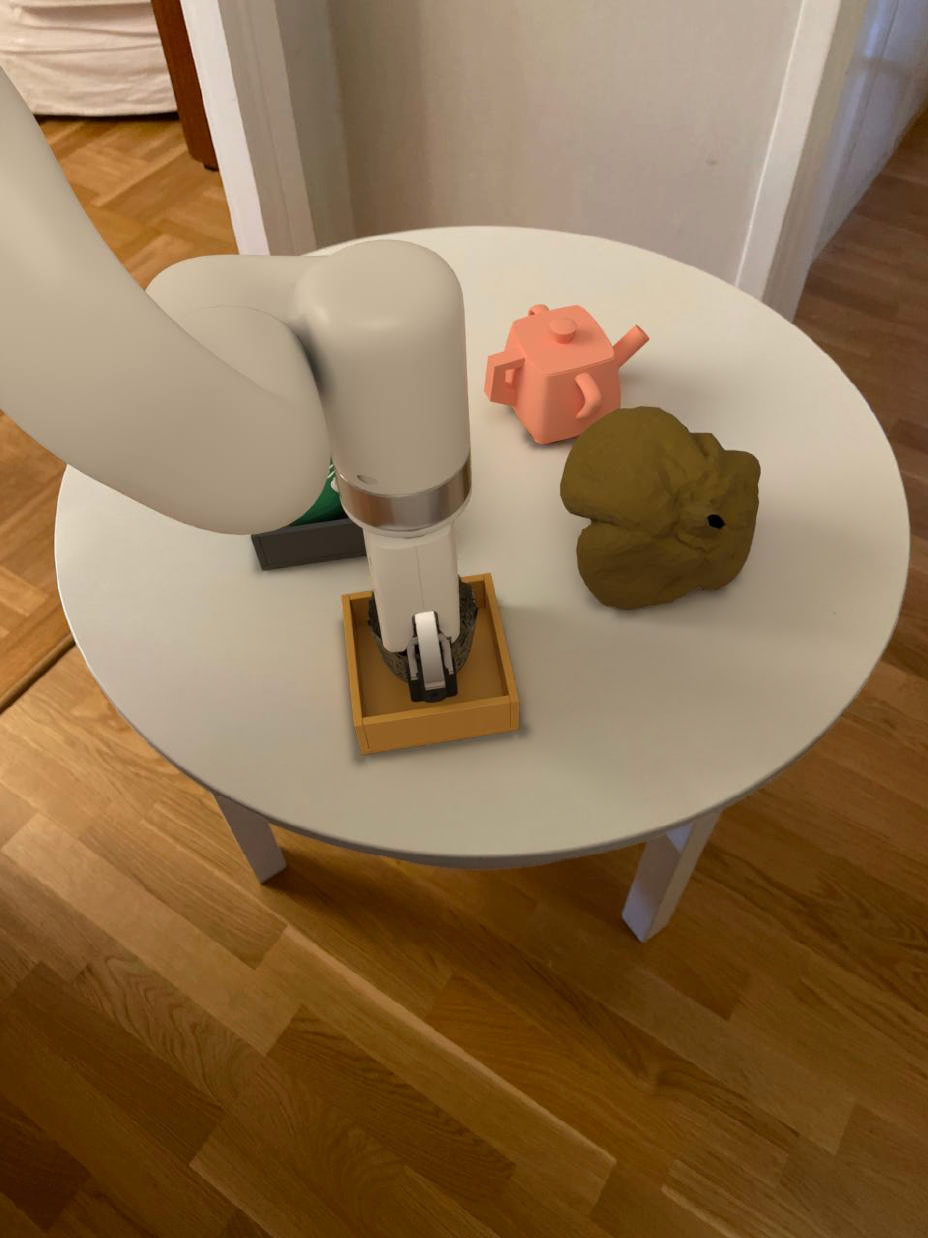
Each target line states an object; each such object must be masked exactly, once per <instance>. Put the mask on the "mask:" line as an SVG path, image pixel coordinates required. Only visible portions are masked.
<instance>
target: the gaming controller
mask: <svg viewBox="0 0 928 1238" xmlns="http://www.w3.org/2000/svg"><path fill="white" fill-rule="evenodd" d="M343 512H345V510H344V508H343V506H342V503H341V500H340V495H339V491H338V486H337V481H336V476H335V472H334V467H333V462H332V457H331V459H330V467H329V474H328V478H327V480H326V483H325V486H324V488H323V490H322V493H321V494H320V496H319V497H318V499H317V500H316V502H315V503H314V505H313V506H312V507H311V508H310V509H309V510H308V511H307V512H306V513H305V514H304V515H303V516H301V517H300V518H298V519H297V520H295V521H293V522H292V523H290V527H292V526H299V525H306V524H313V523H320V522H326V521H328V520H331V519H333V518H336V517H337V516H339V515H341V514H342V513H343Z"/></svg>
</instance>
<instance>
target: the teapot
mask: <svg viewBox="0 0 928 1238" xmlns="http://www.w3.org/2000/svg"><path fill="white" fill-rule="evenodd" d="M650 340H651V338H650V337H649V335H648V334H647V333H646V331H645V330H643V329H642V328H641V327H640V326H639V325H638V324H635V325H633V326H632V327H631V329H629V330H628V331H627V332H626V333H625V334H624V335H623V336H622V337H621V338H620V339H619V340H617V342H616V343H614V344H613V345H612V343H611V341H610V339H609V337H608V336H607V334H606V333H605V330H604V329H603V328H602V327H601V325H600V324H599V323H598V321H597V320H596V319H595V318H594V317H593V316H592V314H591V313H590V312H589V311H588V310H586V308H584V307H582V306H581V305H578V304H574V305H567V306H563V307H559V308H554V309H550V308H549V307H548V306H547V305H546V304H544V303H543V304H541V303H538V304H535V305H532V306H531V307H530V308H529V310H528V312H527V316H524V317H521V318H518V319H516V320H513V322H512V324H511V326H510V329H509V332H508V336H507V339H506V342H505V346H504V350H503V351H500V352H497V353H493V354H490V355H488V356H487V362H486V370H485V378H484V388H483V392H484V393H485V396H486V397H487V399H488V400H489V402H491V403H496V404H500V405H504V406H510V407H512V410H513V411H514V413H515V415H516V417H517V418H518V420H519V421H520V423H521V424H522V425H523V426H524V428H525V429H526V430H527V432H528V433H529V434H530V435H531V436H532V437H533V441H535V443H537V444H539V445H549V444H552V443H554V442H559V441H563V440H568V439H571V438H575V437H579V436H580V435H581V434H582V433H583V432H584V431H585V430H586V429H587V428H588V427H589V426H590V425H592V424H593V423H595V422H596V421H598V420H599V419H601V418H602V417H604V416H605V415H607V414H608V413H610V412H612V411H614V410H616V409H618V408H621V405H622V404H621V403H622V401H621V400H622V399H621V398H622V389H621V379H620V371H619V370H620V369H621V368H622V367H623V366H624V365H625V364H626V363H627V362H628V361H629V360H630V359H631V358H632V357H633V356H634V355H635V354H637V352H638V351H639V350H640V349H642V348H643V347H644V346H645V345H646V344H647V343H648V342H649V341H650Z"/></svg>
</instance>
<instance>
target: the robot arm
mask: <svg viewBox="0 0 928 1238" xmlns="http://www.w3.org/2000/svg"><path fill="white" fill-rule="evenodd" d="M55 155H56V154H54V152H53V150H52V148H51V146H50V144H49V142H48V140H47V138H46V135H45V134H44V132H43V131H42V128H41V127H40V125H39V122H38V121H37V119H36V118H35V115H34V114H33V112H32V111H31V109H30V107H29V105H28V104H27V102H26V101H25V99H24V98H23V96H22V95H21V93H20V91H19V90H18V88H17V87H16V85H15V84H14V83H13V81H12V79H11V78H10V77H9V75H8V74H7V73H6V71H5V70H4V69H3V67H2V66H1V65H0V410H1V411H2V412H3V413H4V414H5V415H6V416H7V417H8V418H9V419H10V420H11V421H13V422H14V424H15V425H17V426H18V427H19V428H20V429H21V430H22V431H23V432H24V433H26V434H27V435H28V436H29V437H31V438H32V439H33V440H34V441H36V443H38V444H39V445H40V446H42V447H43V448H44V449H46V450H47V451H48V452H50V453H51V454H53V455H54V456H56V457H57V458H58V459H59V460H61V461H63V462H64V463H65V464H67V465H68V466H70V467H72V468H74V469H75V470H77V471H78V472H80V473H82V474H84V475H85V476H87V477H88V478H90V479H92V480H94V481H96V482H98V483H100V484H102V485H104V486H106V487H108V488H110V489H112V490H114V491H116V492H118V493H120V494H121V495H123V496H125V497H127V498H129V499H130V500H133V501H135V502H137V503H138V504H141V505H143V506H145V507H146V508H148V509H151V510H153V511H154V512H157V513H158V514H161V515H163V516H165V517H167V518H170V519H172V520H175V521H177V522H179V523H182V524H184V525H186V526H187V525H188V526H192V527H194V528H197V529H200V530H203V531H208V532H213V533H216V534H217V533H218V534H223V535H233V536H251V535H252V534H260V533H265V532H269V531H274V530H277V529H279V528H282V527H284V526H287V525H289V524H290V523H292V522H293V521H295V520H297V519H298V518H300V517H301V516H303V515H304V514H305V513H306V512H307V511H308V510H309V509H310V508H311V507H312V506H313V505H314V503H315V502H316V500H317V499H318V497H319V496H320V494H321V493H322V490H323V488H324V486H325V483H326V480H327V478H328V474H329V467H330V459H331V457H332V462H333V467H334V472H335V476H336V481H337V486H338V491H339V495H340V500H341V503H342V506H343V508H344V510H345V512H346V514H347V515H348V516H349V518H350V519H351V520H352V521H353V522H355V523H356V524H357V525H358V526H360V527H362V528H363V534H364V541H365V547H366V553H367V555H366V558H367V564H368V569H369V574H370V578H371V585H372V589H373V590H374V596H375V601H376V607H377V612H378V618H379V624H380V629H381V636H382V641H383V646H384V647H385V648H386V649H387V650H388V651H389V652H402V651H404V650H405V649H406V648H407V654H408V661H409V664H408V665H405V666H406V672H407V679H408V685H409V691H410V697H411V701H412V702H422V701H424V702H427V703H434V702H440V701H443V700H445V699H446V698H448V697H453V696H456V695H457V694H458V689H457V677H456V665H455V659H454V658H452V657H451V650H450V642H449V640H451V643H453V642H454V641H455V640H456V639H457V637H458V636H459V633H460V613H459V584H458V574H459V566H458V551H457V537H456V522H455V520H456V519H457V518H458V517H460V516H461V514H462V513H463V512H464V511H465V509H466V507H467V506H468V504H469V502H470V501H471V497H472V494H473V493H472V492H473V467H472V446H471V424H470V423H471V422H470V405H469V404H470V403H469V384H468V381H469V380H468V362H467V361H468V358H467V339H466V336H467V334H466V312H465V311H466V310H465V303H464V301H465V300H464V294H463V293H464V292H463V289H462V285H461V283H460V281H459V279H458V276H457V274H456V272H455V271H454V269H453V268H452V266H451V265H450V263H448V262H447V261H446V260H445V259H444V258H443V257H442V256H440V254H439V253H437V252H436V251H433V250H432V249H429V248H428V247H425V246H423V245H420V244H417V243H414V242H410V241H406V240H400V239H374V240H373V239H372V240H367V241H362V242H357V243H354V244H351V245H348V246H345V247H343V248H341V249H339V250H337V251H335V252H333V253H331V254H327V255H267V254H265V255H263V254H235V253H233V254H212V255H201V256H196V257H192V258H188V259H183V260H181V261H179V262H176V263H174V264H171V265H169V266H167V267H166V268H165V269H163V270H162V271H160V272H159V273H158V274H157V275H155V277H154V278H153V279H152V280H151V281H150V282H149V284H148V286H146V288H145V290H144V288H142V286H141V285H140V283H138V281H137V280H136V279H135V278H134V276H133V275H132V274H131V273H130V272H129V270H127V268H126V267H125V266H124V265H123V264H122V262H121V261H120V259H119V258H118V257H117V255H116V254H115V253H114V252H113V250H112V248H111V247H110V246H109V245H108V243H107V242H106V240H104V239H103V236H102V235H101V234H100V232H99V231H98V229H97V227H96V226H95V225H94V223H93V221H92V220H91V218H90V217H89V216H88V214H87V212H86V211H85V209H84V207H83V206H82V204H81V202H80V200H79V198H78V197H77V195H76V194H75V192H74V190H73V189H72V188H73V187H71V184H70V182H69V181H68V178H67V177H66V175H65V173H64V171H63V169H62V167H61V165H60V162H59V161H58V159H57V157H56V156H55ZM436 621H437V625H439V626H436ZM414 624H416V630H413V628H414ZM439 642H441V648H442V655H443V658H442V655H441V653H440V647H439ZM416 645H419V650H420V657H421V658H418V659H417V660H416V654H415V647H414V646H416Z"/></svg>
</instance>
